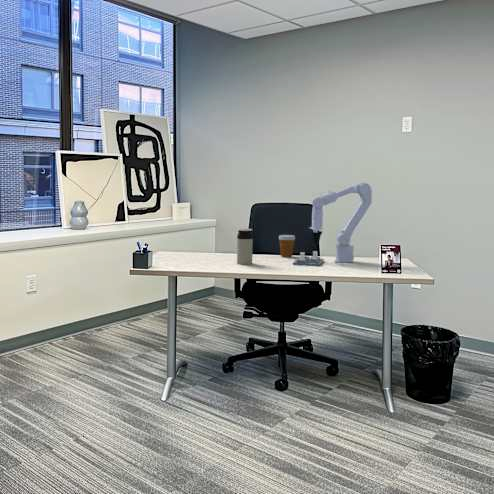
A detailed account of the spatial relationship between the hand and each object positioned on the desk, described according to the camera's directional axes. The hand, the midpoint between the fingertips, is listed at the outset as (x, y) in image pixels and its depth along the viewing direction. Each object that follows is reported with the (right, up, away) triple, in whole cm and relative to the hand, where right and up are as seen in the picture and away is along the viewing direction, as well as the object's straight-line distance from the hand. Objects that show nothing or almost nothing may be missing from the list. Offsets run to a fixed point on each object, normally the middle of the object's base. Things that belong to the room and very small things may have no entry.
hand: (316, 244), depth 304 cm
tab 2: (-1, -8, -4) cm, 9 cm away
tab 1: (-9, -9, -9) cm, 15 cm away
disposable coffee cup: (-15, -7, +15) cm, 23 cm away
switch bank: (-5, -10, -6) cm, 13 cm away
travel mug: (-39, -10, -11) cm, 42 cm away
